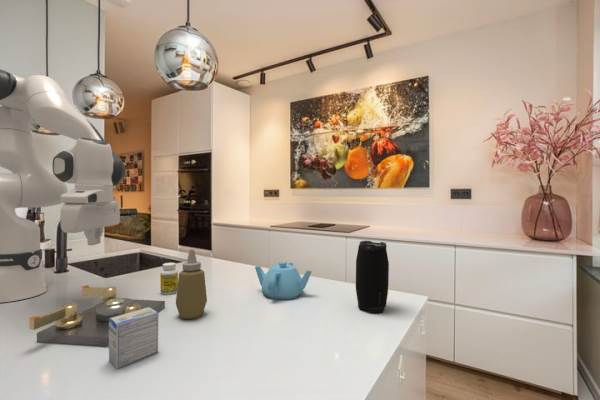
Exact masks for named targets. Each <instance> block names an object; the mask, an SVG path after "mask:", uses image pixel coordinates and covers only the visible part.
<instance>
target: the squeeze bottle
mask: <svg viewBox="0 0 600 400" xmlns="http://www.w3.org/2000/svg"><path fill="white" fill-rule="evenodd" d="M201 265H202V263H201V261H197V257H196V252H195V249H194V248H191V249H189V252H188V254H187V259H186V261H185V262H182V270H181V271H180V272H178V287H177V292H176V298H175V306H176V308H177V312H178V314H179V317H180V318H181V319H185V320H190V319H191V320H192V319H196V318H200V317H202V315H203V314H204V311H205V309H206V305H207V302H208V297H207V288H206V287H207V286H206V277H205V275H206V274H205V271H204V270H203V269H202V266H201Z"/></svg>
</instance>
